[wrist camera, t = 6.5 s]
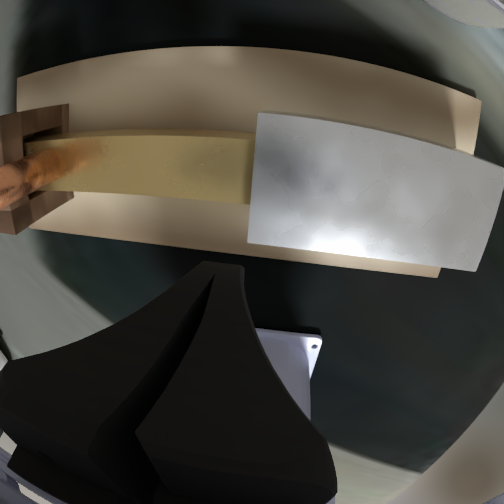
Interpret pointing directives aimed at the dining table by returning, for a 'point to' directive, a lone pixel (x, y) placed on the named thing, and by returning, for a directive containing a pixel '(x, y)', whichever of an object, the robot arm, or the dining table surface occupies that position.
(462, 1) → the teacup
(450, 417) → the dining table surface
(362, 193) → the steel block
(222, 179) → the gold square bar
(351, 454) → the dining table surface
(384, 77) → the birch board
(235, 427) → the robot arm
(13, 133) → the walnut socket
